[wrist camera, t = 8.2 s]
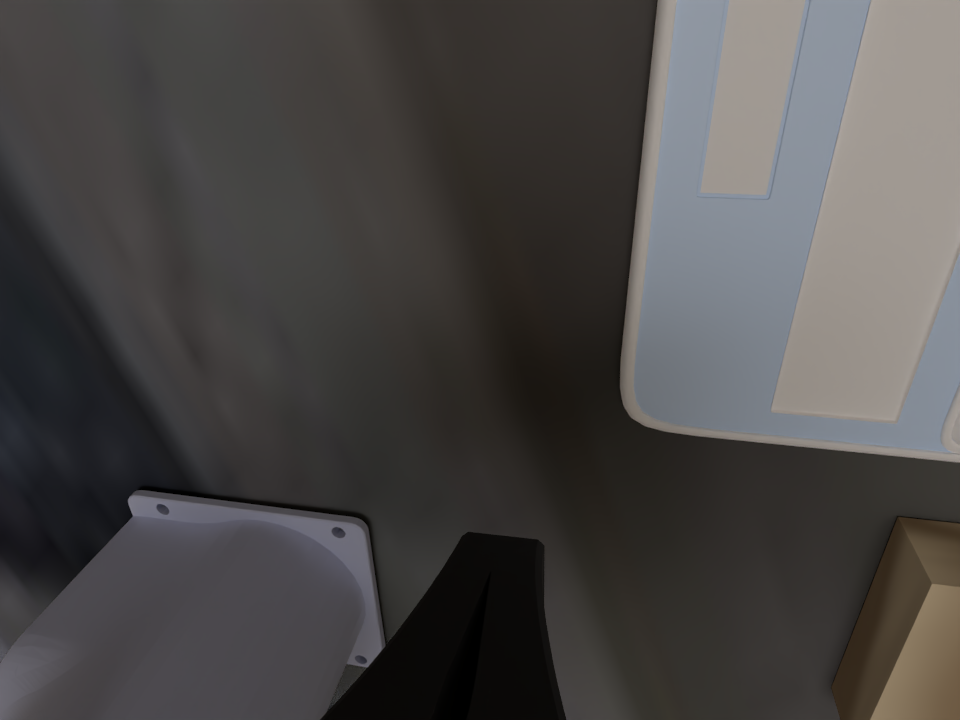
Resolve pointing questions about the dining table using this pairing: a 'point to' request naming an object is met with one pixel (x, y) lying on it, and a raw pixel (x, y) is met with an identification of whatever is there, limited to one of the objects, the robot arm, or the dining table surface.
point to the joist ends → (907, 631)
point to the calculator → (800, 227)
